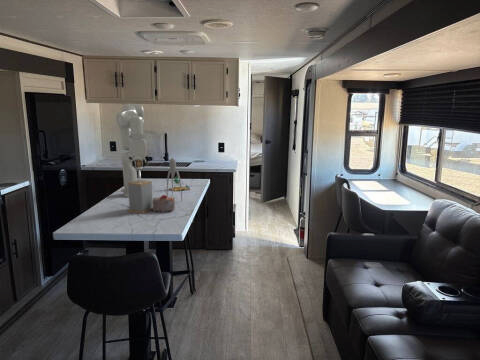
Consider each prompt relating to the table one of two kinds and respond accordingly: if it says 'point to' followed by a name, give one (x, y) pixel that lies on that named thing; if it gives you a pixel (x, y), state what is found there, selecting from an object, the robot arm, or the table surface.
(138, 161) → the knob
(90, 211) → the table surface
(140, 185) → the beige tall block
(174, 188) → the frog figurine
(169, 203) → the food item
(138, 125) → the robot arm
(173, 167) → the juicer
